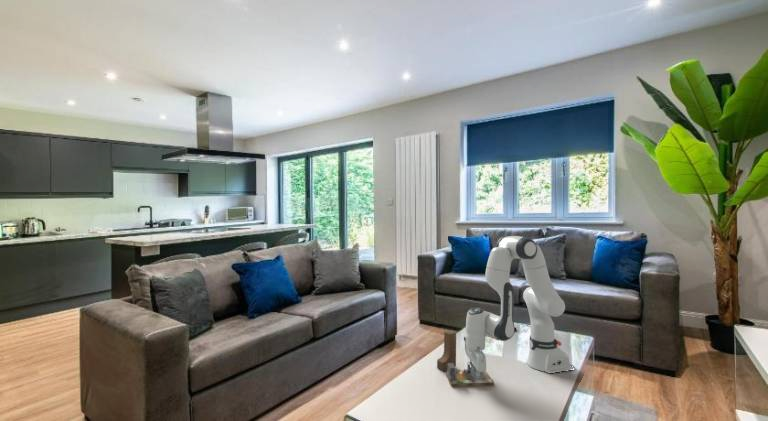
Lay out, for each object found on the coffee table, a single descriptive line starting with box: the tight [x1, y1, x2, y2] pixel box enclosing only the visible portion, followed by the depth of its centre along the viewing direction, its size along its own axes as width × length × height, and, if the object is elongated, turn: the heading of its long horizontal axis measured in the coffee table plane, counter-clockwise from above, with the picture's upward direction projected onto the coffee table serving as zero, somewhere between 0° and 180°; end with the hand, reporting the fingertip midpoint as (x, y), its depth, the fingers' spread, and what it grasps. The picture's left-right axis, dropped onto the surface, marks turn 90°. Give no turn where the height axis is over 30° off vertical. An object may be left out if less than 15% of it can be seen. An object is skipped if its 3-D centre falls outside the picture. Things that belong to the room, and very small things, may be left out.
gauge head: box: [463, 361, 483, 382], centre depth 166 cm, size 8×8×6 cm
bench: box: [445, 363, 495, 388], centre depth 167 cm, size 20×10×8 cm, turn 94°
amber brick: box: [459, 371, 463, 382], centre depth 163 cm, size 1×2×4 cm, turn 3°
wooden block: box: [436, 329, 457, 372], centre depth 179 cm, size 9×4×18 cm, turn 122°
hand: (475, 372), depth 167 cm, fingers closed on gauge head, 5 cm apart
